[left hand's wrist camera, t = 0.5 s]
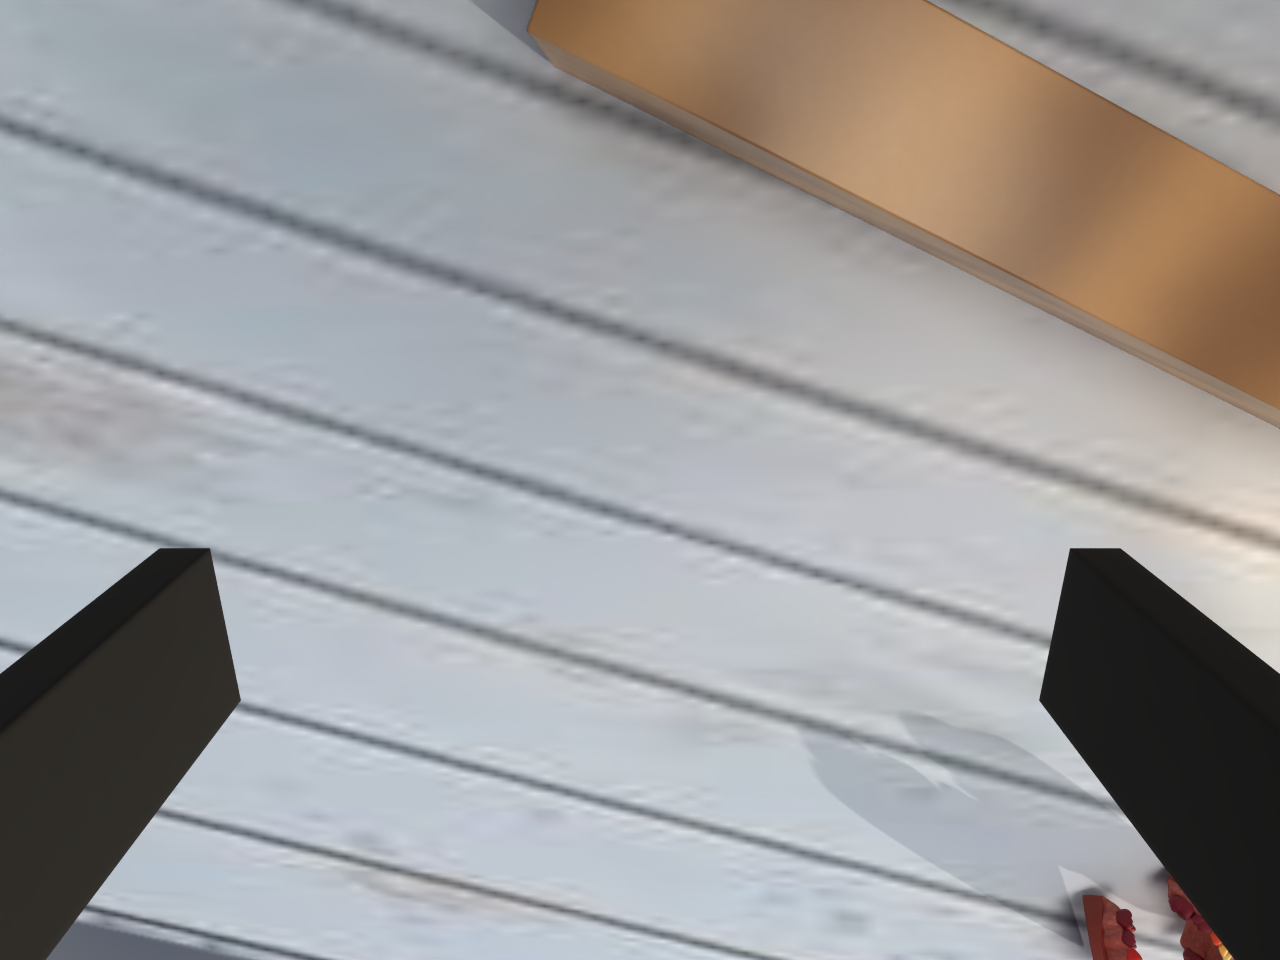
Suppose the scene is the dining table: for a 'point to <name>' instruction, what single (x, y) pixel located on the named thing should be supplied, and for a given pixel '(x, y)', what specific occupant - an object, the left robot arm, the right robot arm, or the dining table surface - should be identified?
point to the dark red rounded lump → (1115, 929)
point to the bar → (965, 163)
